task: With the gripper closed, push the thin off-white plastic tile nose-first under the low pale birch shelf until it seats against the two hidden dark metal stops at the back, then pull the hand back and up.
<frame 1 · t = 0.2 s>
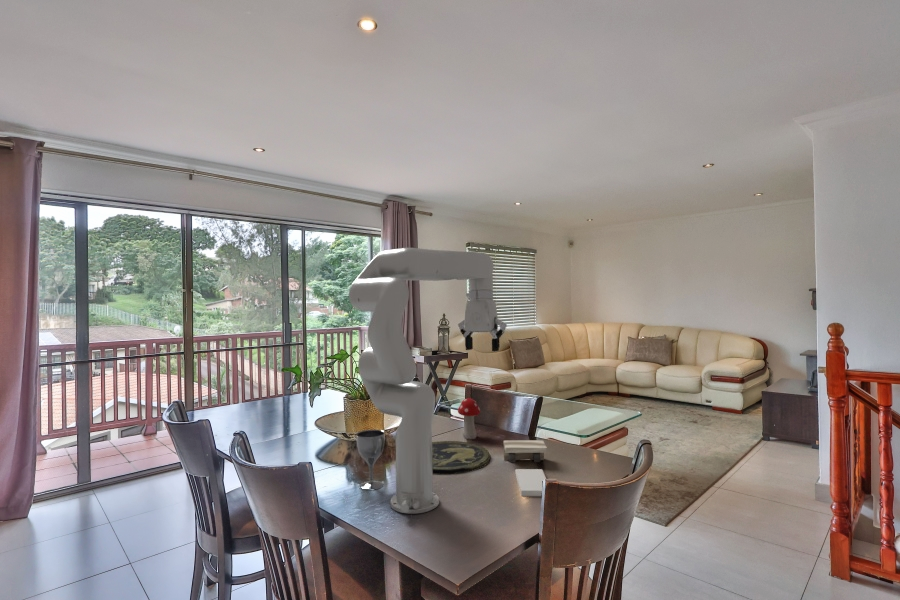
hand: (482, 350, 146), 37 cm above the table, tool pointing down, fingers open, 9 cm apart
decorative plate: (445, 459, 156), on the table
tile: (532, 486, 132), on the table
decorative mushroom: (469, 437, 180), on the table
low shelf: (524, 462, 150), on the table
wine glass: (371, 486, 133), on the table
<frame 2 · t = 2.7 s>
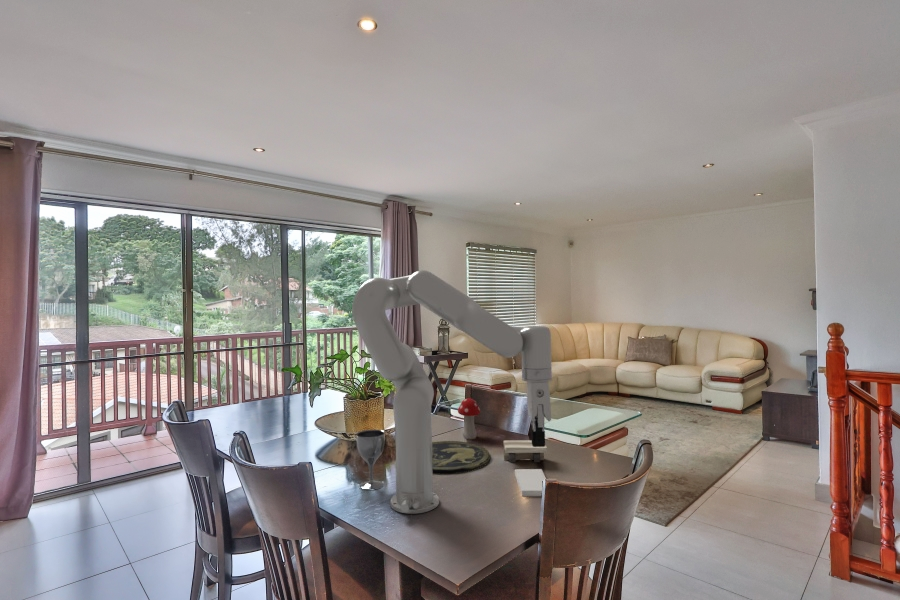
hand: (538, 445, 119), 15 cm above the table, tool pointing down, fingers closed
nothing on the table moved.
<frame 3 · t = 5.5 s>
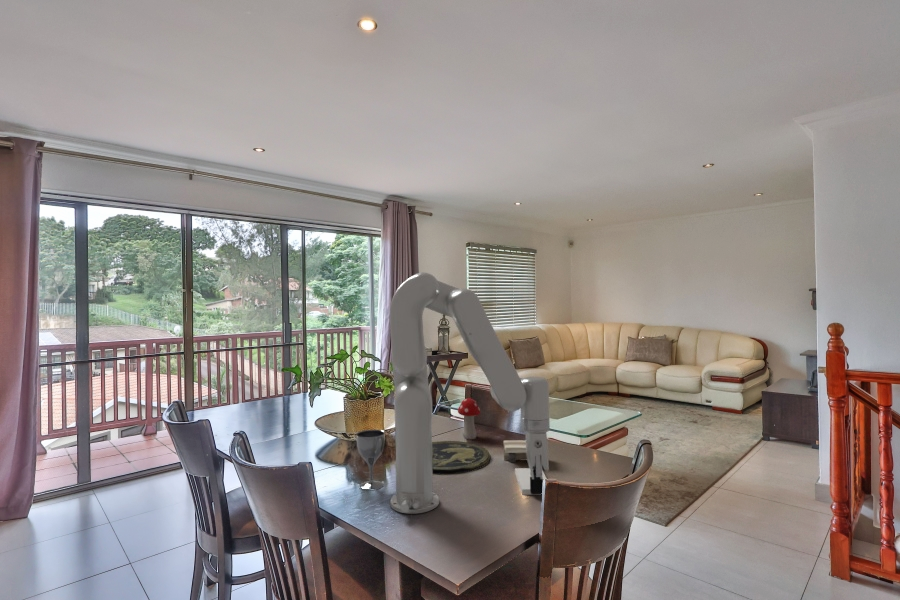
hand: (536, 492, 124), 1 cm above the table, tool pointing down, fingers closed
tile: (532, 485, 133), on the table
everything else where it was.
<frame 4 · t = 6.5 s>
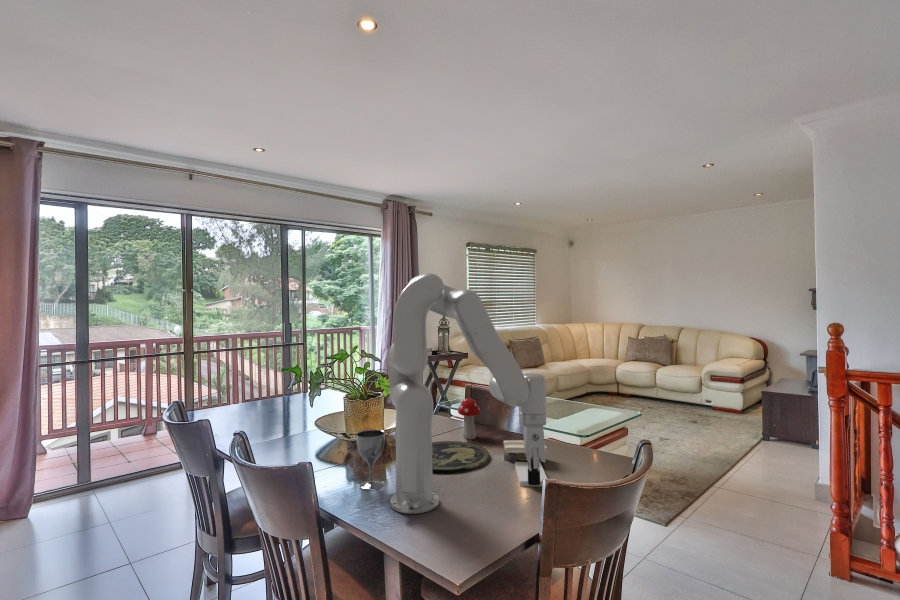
hand: (534, 483, 130), 1 cm above the table, tool pointing down, fingers closed
tile: (530, 477, 139), on the table
everything else where it was.
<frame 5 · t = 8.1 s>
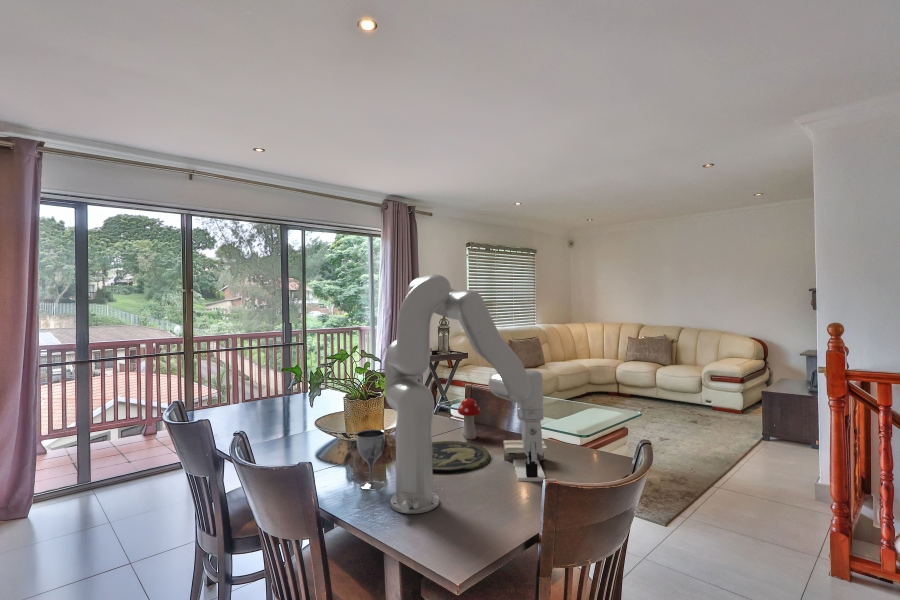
hand: (531, 476, 135), 1 cm above the table, tool pointing down, fingers closed
tile: (528, 474, 142), on the table
everything else where it was.
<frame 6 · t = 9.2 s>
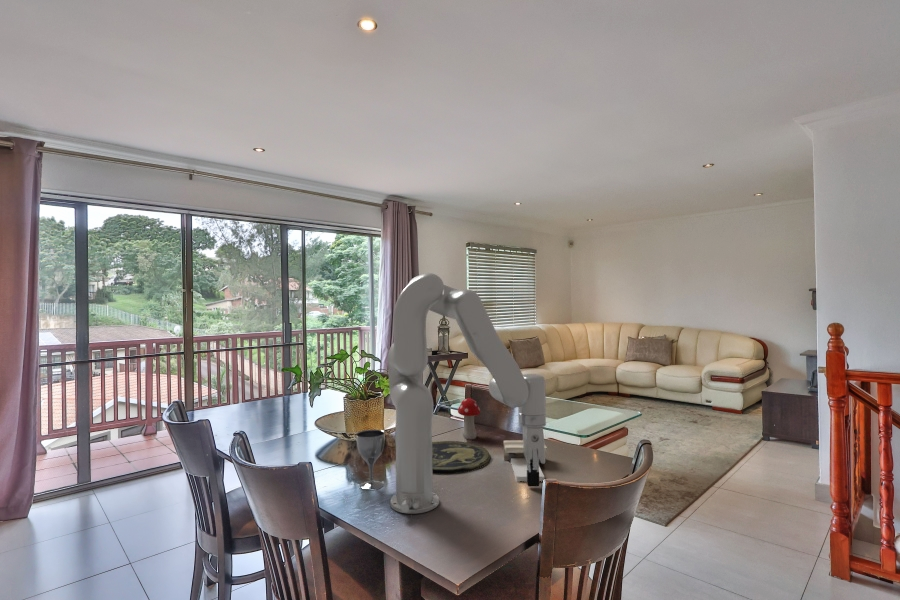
hand: (533, 485, 129), 1 cm above the table, tool pointing down, fingers closed
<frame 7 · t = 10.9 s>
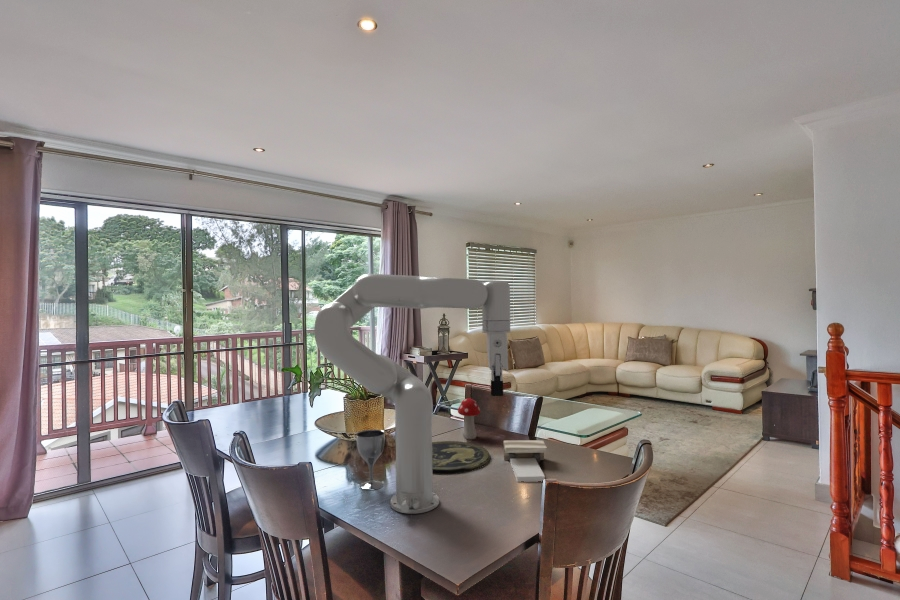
hand: (497, 395, 125), 27 cm above the table, tool pointing down, fingers closed
nothing on the table moved.
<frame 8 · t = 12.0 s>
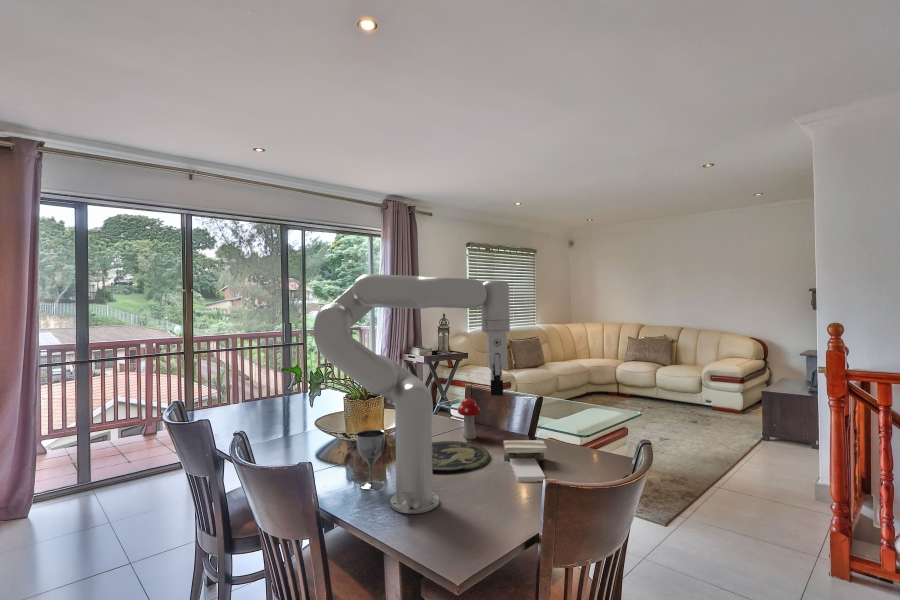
hand: (496, 394, 125), 27 cm above the table, tool pointing down, fingers closed
nothing on the table moved.
at the end: tile 0.6 cm from the target spot, on the table; tile tilted 0°; tile moved 10.0 cm from its start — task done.
